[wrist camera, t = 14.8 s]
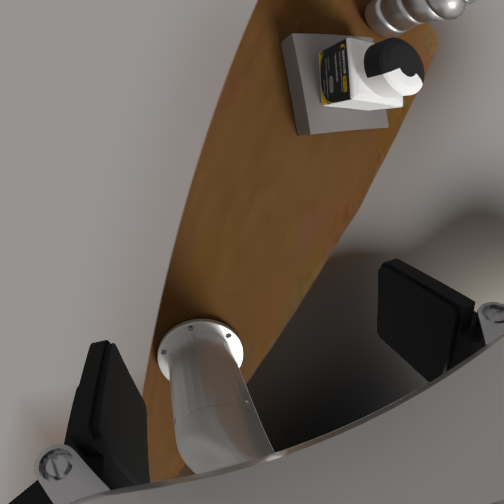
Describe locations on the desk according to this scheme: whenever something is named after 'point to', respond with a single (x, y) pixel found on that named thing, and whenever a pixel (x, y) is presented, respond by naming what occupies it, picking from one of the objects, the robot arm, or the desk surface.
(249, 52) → the desk surface
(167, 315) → the desk surface
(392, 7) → the plastic bottle
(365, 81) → the medicine bottle
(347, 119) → the base block
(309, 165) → the desk surface
